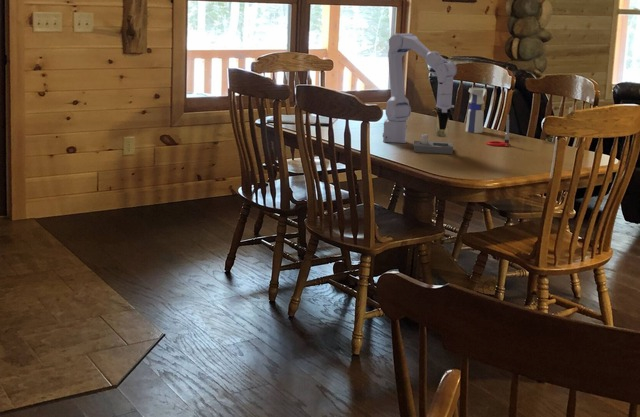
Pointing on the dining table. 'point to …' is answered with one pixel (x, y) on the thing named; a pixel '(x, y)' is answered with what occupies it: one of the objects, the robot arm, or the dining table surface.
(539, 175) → the dining table surface
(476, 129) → the water bottle
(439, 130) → the cylinder
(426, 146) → the grey holder block
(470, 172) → the dining table surface
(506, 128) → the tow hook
